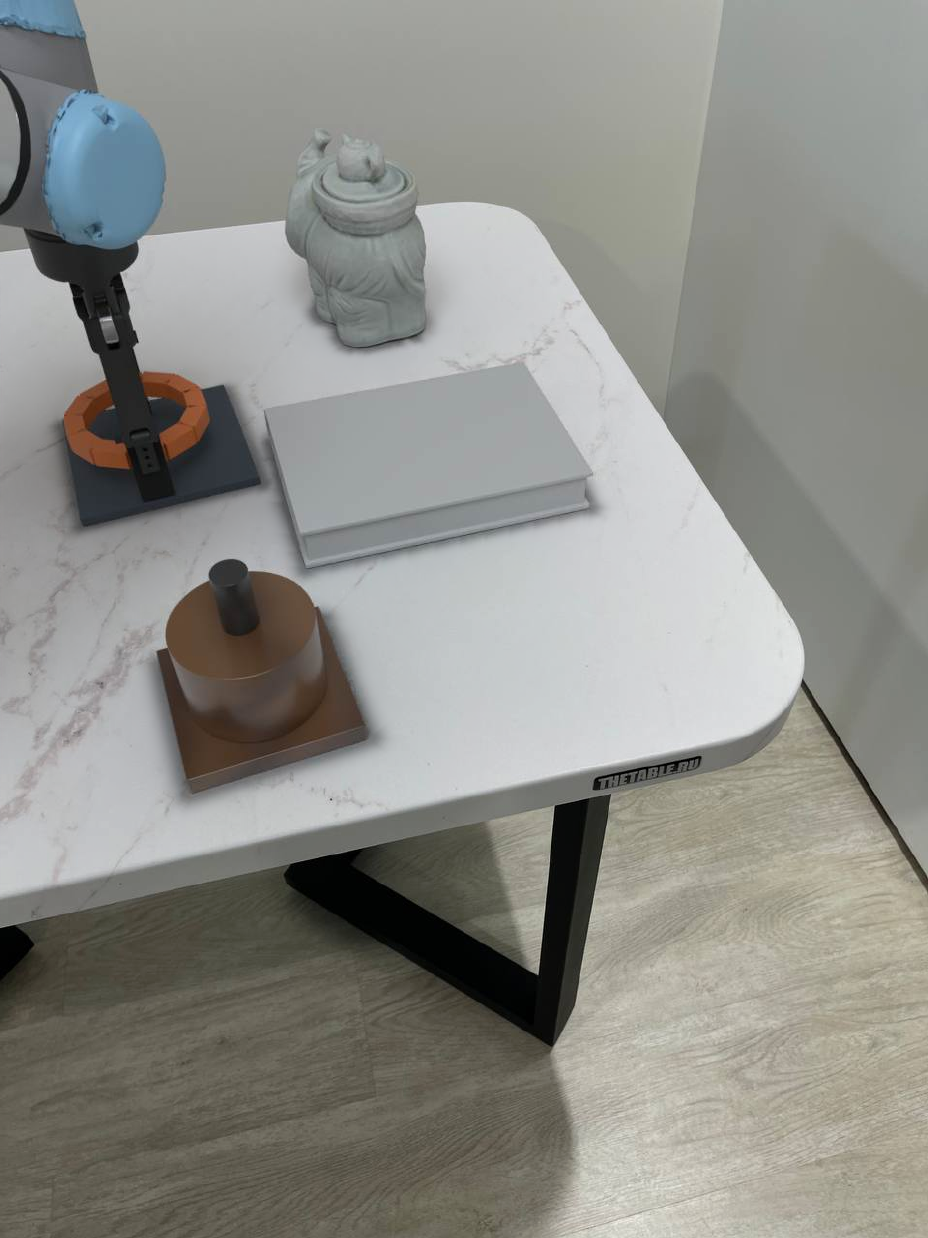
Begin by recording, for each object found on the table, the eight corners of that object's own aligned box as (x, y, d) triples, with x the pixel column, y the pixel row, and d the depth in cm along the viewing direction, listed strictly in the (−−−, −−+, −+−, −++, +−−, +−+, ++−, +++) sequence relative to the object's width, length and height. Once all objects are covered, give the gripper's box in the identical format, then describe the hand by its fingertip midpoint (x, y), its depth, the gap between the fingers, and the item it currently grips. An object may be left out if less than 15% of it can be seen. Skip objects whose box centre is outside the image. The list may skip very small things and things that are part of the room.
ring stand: (191, 794, 66) (144, 669, 57) (160, 664, 73) (114, 535, 64) (368, 739, 68) (350, 611, 59) (320, 619, 76) (298, 490, 67)
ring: (77, 481, 82) (71, 466, 80) (62, 403, 89) (57, 388, 88) (220, 448, 84) (216, 433, 83) (194, 376, 92) (190, 360, 91)
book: (593, 472, 82) (299, 532, 77) (589, 508, 85) (305, 569, 80) (519, 354, 94) (261, 400, 89) (518, 389, 97) (268, 436, 92)
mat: (83, 526, 84) (80, 519, 83) (64, 426, 93) (61, 419, 93) (261, 483, 87) (259, 476, 87) (225, 391, 97) (223, 384, 96)
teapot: (315, 269, 113) (292, 89, 100) (448, 278, 111) (443, 96, 98) (272, 348, 102) (239, 159, 88) (419, 360, 100) (408, 168, 87)
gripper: (153, 276, 66) (217, 526, 82) (105, 140, 82) (167, 373, 97) (34, 298, 64) (123, 550, 80) (8, 155, 80) (87, 390, 96)
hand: (147, 453), depth 89 cm, fingers closed on ring, 11 cm apart
